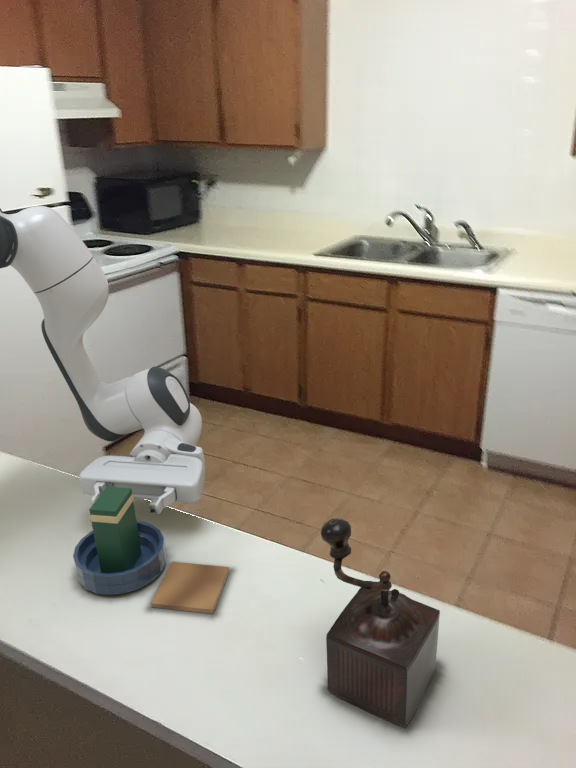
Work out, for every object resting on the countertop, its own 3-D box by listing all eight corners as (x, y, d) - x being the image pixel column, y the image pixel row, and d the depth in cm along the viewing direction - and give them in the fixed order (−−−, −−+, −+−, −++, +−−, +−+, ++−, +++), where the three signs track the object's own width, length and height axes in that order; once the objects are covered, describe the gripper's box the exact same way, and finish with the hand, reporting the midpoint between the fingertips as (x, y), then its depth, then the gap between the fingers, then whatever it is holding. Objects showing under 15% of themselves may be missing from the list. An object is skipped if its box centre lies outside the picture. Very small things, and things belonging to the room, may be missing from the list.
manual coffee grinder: (440, 663, 83) (450, 546, 76) (406, 731, 75) (413, 607, 67) (331, 618, 91) (330, 508, 84) (288, 675, 83) (283, 558, 75)
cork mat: (151, 607, 94) (150, 602, 94) (172, 565, 102) (172, 561, 102) (212, 613, 93) (212, 609, 92) (229, 571, 101) (229, 566, 100)
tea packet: (101, 576, 100) (88, 509, 95) (117, 550, 105) (106, 485, 100) (126, 579, 99) (115, 511, 94) (142, 552, 104) (132, 487, 99)
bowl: (62, 593, 97) (57, 571, 96) (100, 537, 109) (97, 517, 108) (147, 602, 95) (144, 580, 93) (177, 544, 107) (175, 523, 105)
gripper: (97, 441, 115) (58, 484, 103) (211, 448, 112) (185, 494, 99) (102, 472, 118) (65, 518, 105) (214, 480, 114) (189, 529, 102)
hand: (124, 507), depth 102 cm, fingers open, 8 cm apart
